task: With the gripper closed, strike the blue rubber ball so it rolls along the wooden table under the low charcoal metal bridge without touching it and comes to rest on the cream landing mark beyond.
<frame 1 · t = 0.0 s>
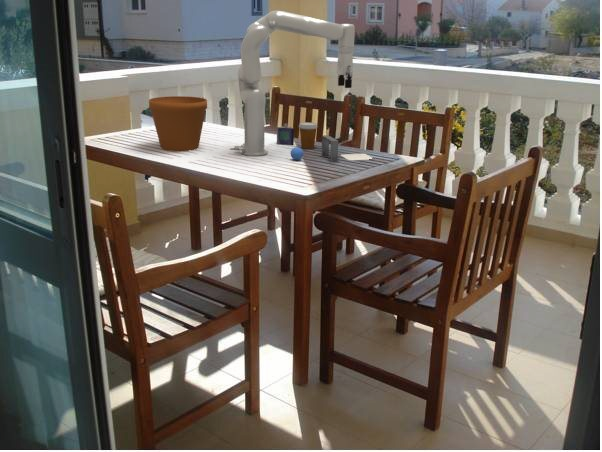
hand: (344, 86, 338), 31 cm above the table, tool pointing down, fingers open, 9 cm apart
bridge: (329, 158, 327), on the table
ball: (296, 153, 322), on the table
flask: (285, 144, 359), on the table
disposable coffee cup: (307, 147, 352), on the table
flowerpot: (179, 148, 345), on the table
landing mark: (357, 157, 331), on the table
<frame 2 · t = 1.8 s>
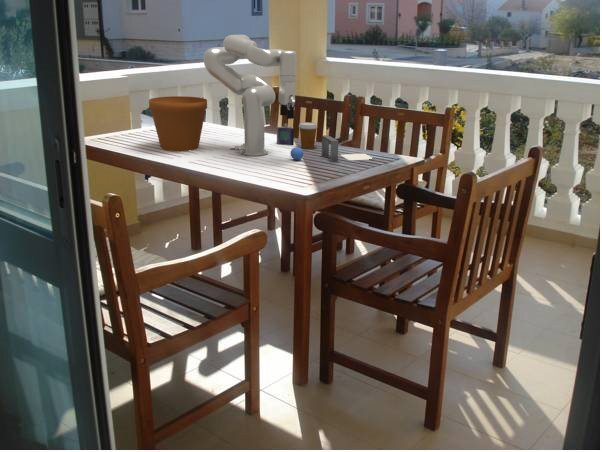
hand: (286, 116, 318), 20 cm above the table, tool pointing down, fingers open, 9 cm apart
nothing on the table moved.
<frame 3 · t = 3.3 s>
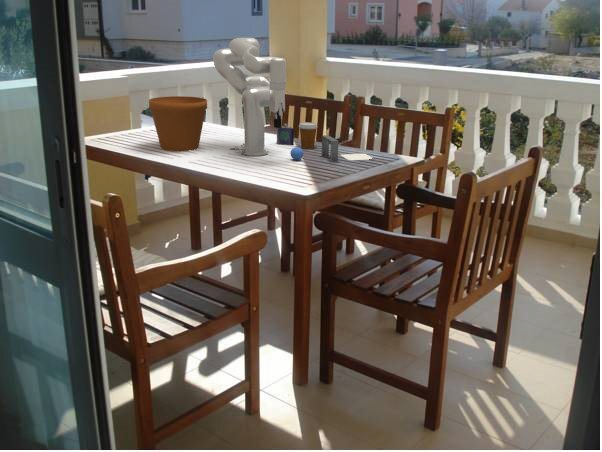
hand: (277, 127, 315), 16 cm above the table, tool pointing down, fingers closed
nothing on the table moved.
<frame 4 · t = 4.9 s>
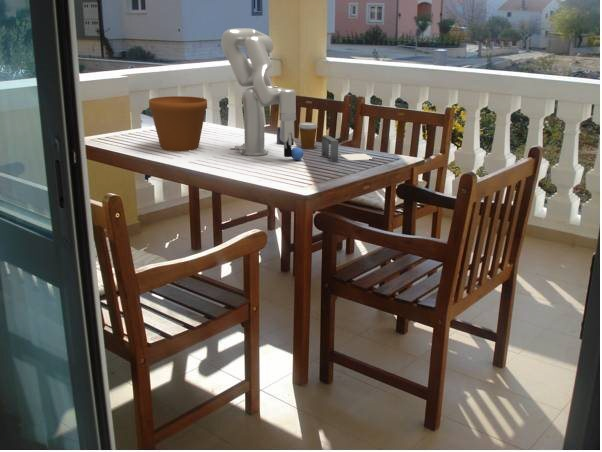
hand: (287, 156, 320), 2 cm above the table, tool pointing down, fingers closed
nothing on the table moved.
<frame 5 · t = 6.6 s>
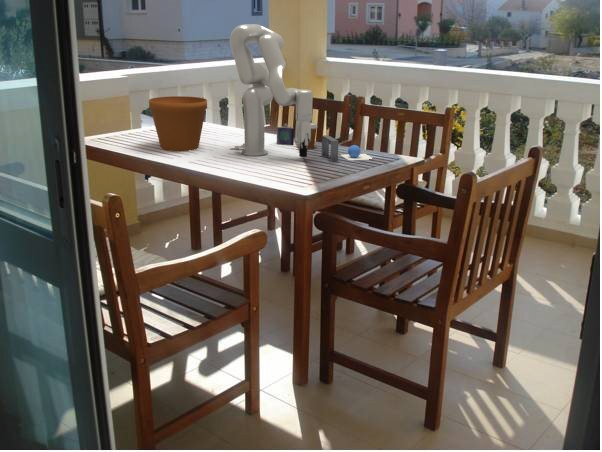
hand: (303, 156, 323), 2 cm above the table, tool pointing down, fingers closed
ball: (354, 151, 329), on the table
everything else where it was.
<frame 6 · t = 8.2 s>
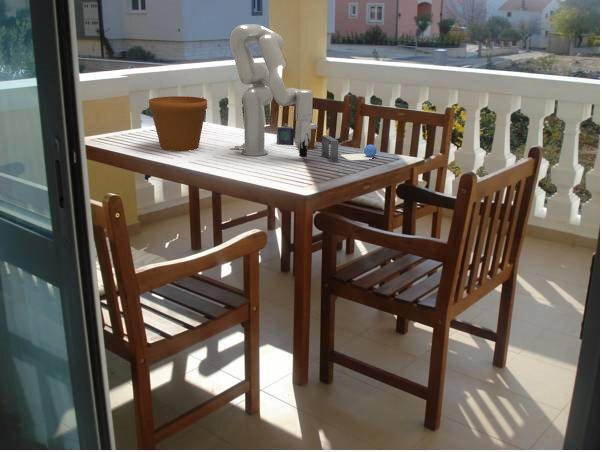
hand: (303, 156, 323), 2 cm above the table, tool pointing down, fingers closed
ball: (370, 150, 331), on the table
everything else where it was.
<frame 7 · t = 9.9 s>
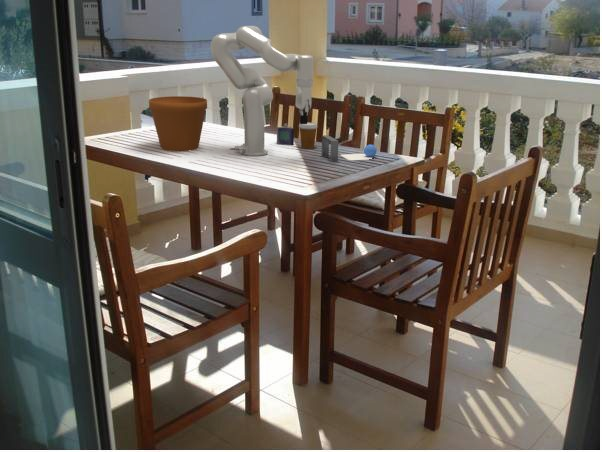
hand: (303, 123, 318), 17 cm above the table, tool pointing down, fingers closed
nothing on the table moved.
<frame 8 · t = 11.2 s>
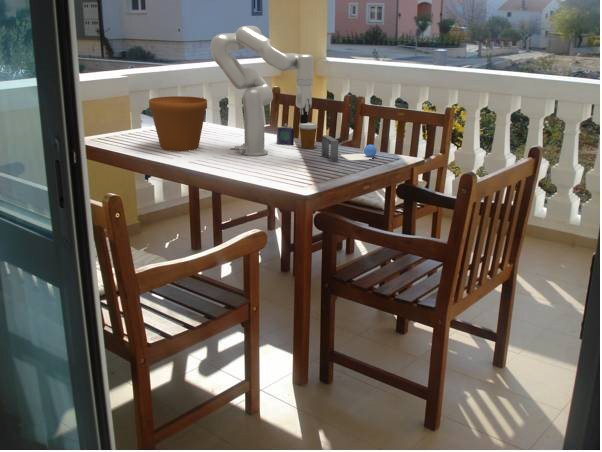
hand: (303, 123, 318), 17 cm above the table, tool pointing down, fingers closed
nothing on the table moved.
at the end: ball 6.4 cm from the landing mark (horizontally); ball never touched bridge; ball at rest at the end (0.0 cm/s) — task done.
